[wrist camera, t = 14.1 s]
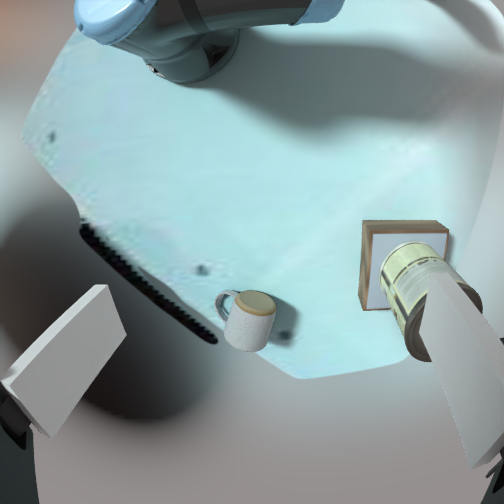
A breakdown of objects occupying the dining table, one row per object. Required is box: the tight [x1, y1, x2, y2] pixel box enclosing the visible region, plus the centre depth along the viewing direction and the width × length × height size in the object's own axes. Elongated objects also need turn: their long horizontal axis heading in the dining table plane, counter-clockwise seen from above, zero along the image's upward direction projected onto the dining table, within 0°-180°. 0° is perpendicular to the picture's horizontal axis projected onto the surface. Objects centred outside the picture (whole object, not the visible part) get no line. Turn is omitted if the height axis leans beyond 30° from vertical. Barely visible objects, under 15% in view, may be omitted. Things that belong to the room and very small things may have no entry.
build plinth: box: [358, 220, 449, 311], centre depth 41 cm, size 13×13×5 cm
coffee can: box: [379, 241, 483, 362], centre depth 32 cm, size 10×10×14 cm
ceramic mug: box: [214, 290, 277, 352], centre depth 48 cm, size 11×8×8 cm
